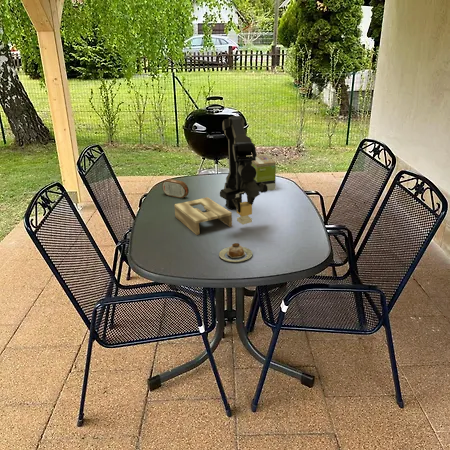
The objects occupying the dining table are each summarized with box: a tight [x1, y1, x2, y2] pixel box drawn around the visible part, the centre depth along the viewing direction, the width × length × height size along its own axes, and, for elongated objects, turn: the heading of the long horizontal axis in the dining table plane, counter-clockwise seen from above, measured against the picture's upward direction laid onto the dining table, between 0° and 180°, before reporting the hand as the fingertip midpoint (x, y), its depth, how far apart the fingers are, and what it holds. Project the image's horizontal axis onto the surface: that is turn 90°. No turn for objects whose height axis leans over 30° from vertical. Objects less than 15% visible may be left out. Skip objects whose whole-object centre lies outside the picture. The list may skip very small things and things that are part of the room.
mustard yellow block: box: [236, 201, 253, 226], centre depth 173 cm, size 4×4×8 cm
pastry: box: [218, 242, 254, 264], centre depth 154 cm, size 12×12×5 cm
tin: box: [161, 178, 190, 199], centre depth 212 cm, size 15×3×8 cm, turn 58°
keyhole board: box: [174, 197, 233, 236], centre depth 182 cm, size 16×22×6 cm
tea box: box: [252, 154, 277, 192], centre depth 221 cm, size 15×10×15 cm
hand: (244, 211), depth 172 cm, fingers closed on mustard yellow block, 4 cm apart
